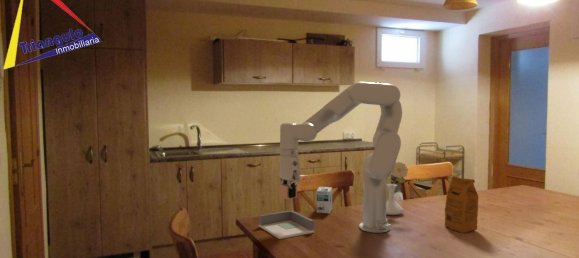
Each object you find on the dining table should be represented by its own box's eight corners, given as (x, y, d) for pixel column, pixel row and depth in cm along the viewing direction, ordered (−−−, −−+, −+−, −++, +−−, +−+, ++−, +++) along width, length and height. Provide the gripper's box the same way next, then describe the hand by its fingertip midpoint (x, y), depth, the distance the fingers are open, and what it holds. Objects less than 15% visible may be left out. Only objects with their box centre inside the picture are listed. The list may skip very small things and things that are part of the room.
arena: (314, 232, 164) (314, 220, 164) (279, 239, 156) (279, 226, 156) (291, 221, 180) (291, 210, 179) (259, 226, 172) (259, 215, 171)
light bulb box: (330, 213, 192) (330, 191, 191) (316, 213, 193) (316, 190, 193) (332, 208, 202) (332, 186, 202) (318, 207, 204) (319, 186, 203)
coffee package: (459, 223, 177) (460, 173, 175) (481, 232, 165) (482, 178, 163) (440, 225, 173) (441, 175, 172) (461, 234, 162) (462, 180, 160)
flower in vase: (377, 215, 189) (377, 162, 188) (381, 209, 200) (381, 159, 198) (405, 218, 184) (406, 164, 183) (408, 212, 195) (409, 160, 193)
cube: (286, 199, 166) (286, 186, 165) (280, 196, 170) (280, 184, 170) (296, 197, 168) (297, 185, 168) (290, 195, 172) (291, 183, 172)
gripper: (307, 154, 162) (307, 199, 163) (286, 150, 177) (286, 191, 178) (291, 155, 158) (291, 201, 160) (271, 151, 173) (271, 192, 174)
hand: (288, 195), depth 169 cm, fingers closed on cube, 5 cm apart
